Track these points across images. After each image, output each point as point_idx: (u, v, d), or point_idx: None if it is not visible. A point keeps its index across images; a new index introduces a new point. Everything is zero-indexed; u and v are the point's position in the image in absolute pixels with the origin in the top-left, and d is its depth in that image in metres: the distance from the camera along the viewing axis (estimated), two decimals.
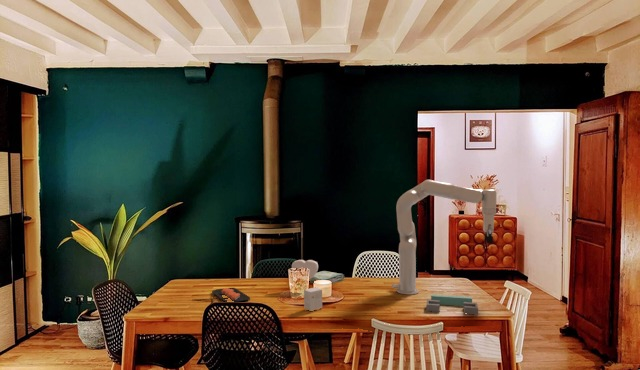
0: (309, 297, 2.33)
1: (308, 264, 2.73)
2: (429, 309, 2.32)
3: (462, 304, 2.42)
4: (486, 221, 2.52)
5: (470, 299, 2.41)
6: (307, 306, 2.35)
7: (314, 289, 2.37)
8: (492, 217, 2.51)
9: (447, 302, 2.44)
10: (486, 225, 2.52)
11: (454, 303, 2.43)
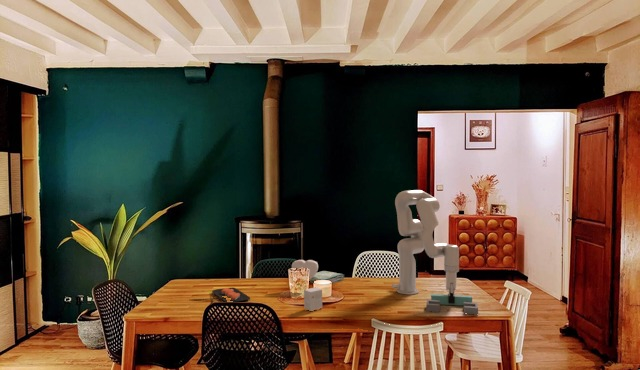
0: (309, 297, 2.33)
1: (308, 264, 2.73)
2: (429, 309, 2.32)
3: (462, 303, 2.42)
4: (448, 279, 2.40)
5: (470, 298, 2.41)
6: (307, 306, 2.35)
7: (314, 289, 2.37)
8: (454, 275, 2.39)
9: (447, 301, 2.44)
10: (448, 283, 2.40)
11: None
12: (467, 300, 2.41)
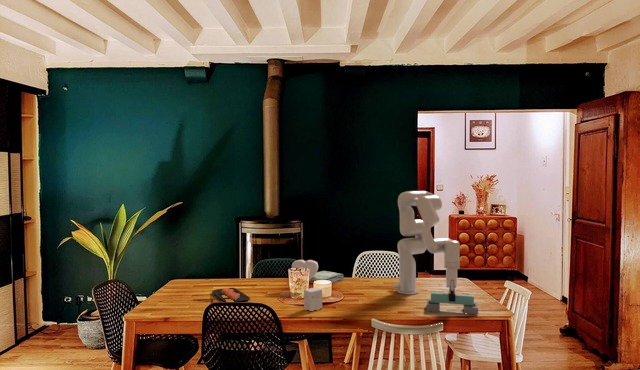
0: (309, 297, 2.33)
1: (308, 264, 2.73)
2: (429, 309, 2.32)
3: (463, 302, 2.31)
4: (448, 276, 2.29)
5: (472, 297, 2.30)
6: (307, 306, 2.35)
7: (314, 289, 2.37)
8: (455, 272, 2.29)
9: (448, 300, 2.33)
10: (448, 280, 2.29)
11: (455, 301, 2.32)
12: (468, 299, 2.30)
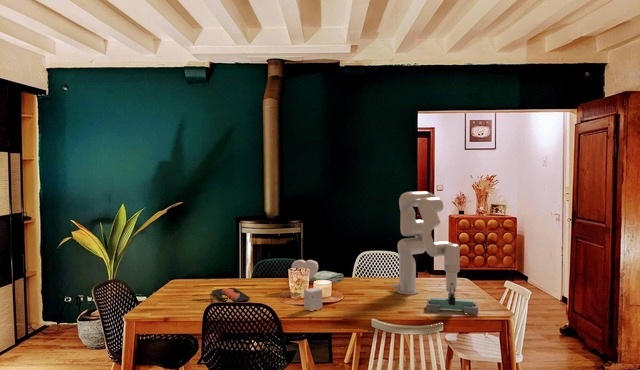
0: (309, 297, 2.33)
1: (308, 264, 2.73)
2: (429, 309, 2.32)
3: (463, 308, 2.31)
4: (448, 279, 2.29)
5: (471, 303, 2.30)
6: (307, 306, 2.35)
7: (314, 289, 2.37)
8: (454, 275, 2.29)
9: (447, 305, 2.33)
10: (448, 284, 2.29)
11: (454, 307, 2.32)
12: (468, 305, 2.30)
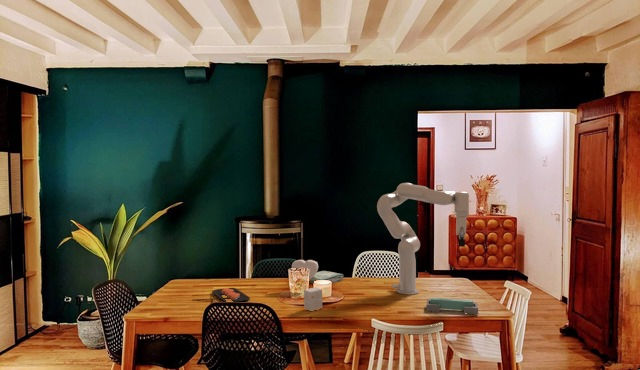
0: (309, 297, 2.33)
1: (308, 264, 2.73)
2: (429, 309, 2.32)
3: (463, 308, 2.31)
4: (458, 224, 2.48)
5: (471, 303, 2.30)
6: (307, 306, 2.35)
7: (314, 289, 2.37)
8: (464, 220, 2.48)
9: (447, 305, 2.33)
10: (458, 228, 2.48)
11: (454, 307, 2.32)
12: (468, 305, 2.30)
